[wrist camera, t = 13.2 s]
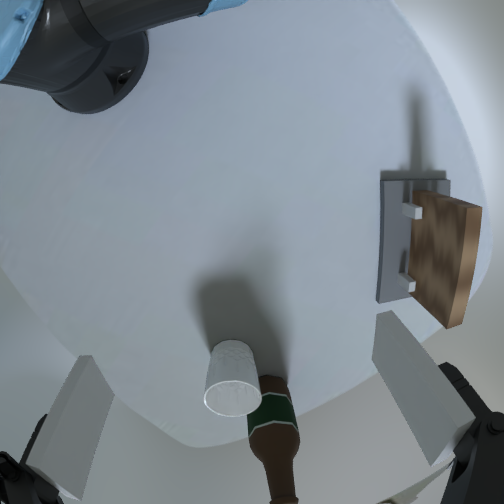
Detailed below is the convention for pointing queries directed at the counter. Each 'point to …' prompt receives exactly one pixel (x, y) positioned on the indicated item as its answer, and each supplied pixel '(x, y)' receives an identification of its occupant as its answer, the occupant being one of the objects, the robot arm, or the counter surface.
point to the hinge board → (399, 234)
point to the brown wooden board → (443, 254)
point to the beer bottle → (275, 438)
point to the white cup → (232, 380)
